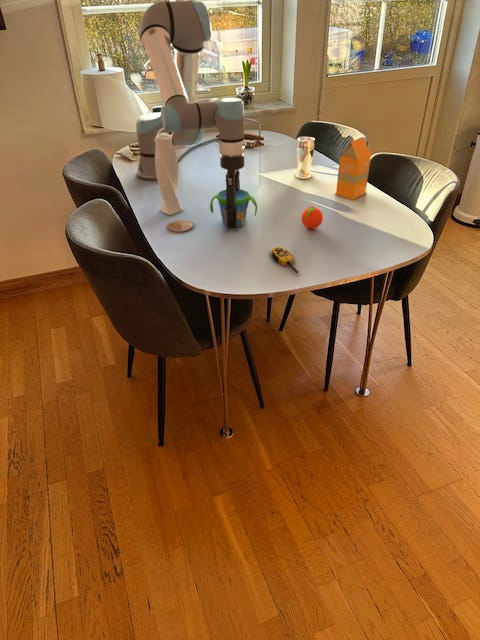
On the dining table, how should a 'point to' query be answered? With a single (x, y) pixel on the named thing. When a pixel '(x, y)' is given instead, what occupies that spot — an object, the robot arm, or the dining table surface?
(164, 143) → the skyscraper
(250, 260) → the dining table surface
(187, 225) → the cork coaster
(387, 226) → the dining table surface
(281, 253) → the yellow walkie talkie
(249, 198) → the snack cup
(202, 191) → the dining table surface
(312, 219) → the clementine
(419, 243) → the dining table surface
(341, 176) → the orange juice
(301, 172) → the beer glass
